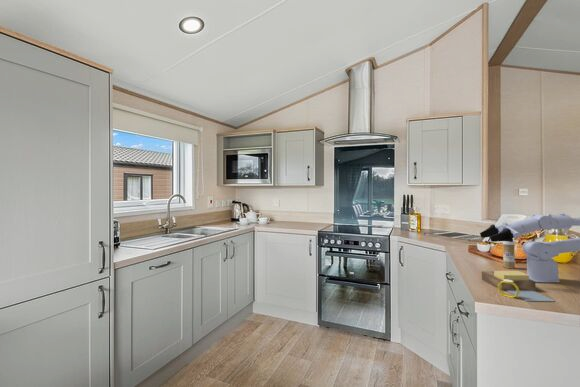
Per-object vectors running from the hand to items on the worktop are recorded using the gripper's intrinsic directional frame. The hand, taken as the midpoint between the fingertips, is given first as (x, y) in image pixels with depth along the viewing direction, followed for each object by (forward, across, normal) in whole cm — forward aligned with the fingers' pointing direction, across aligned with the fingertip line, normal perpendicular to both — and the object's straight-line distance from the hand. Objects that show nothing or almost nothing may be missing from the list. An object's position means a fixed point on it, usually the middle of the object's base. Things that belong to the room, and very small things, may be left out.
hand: (485, 237), depth 120 cm
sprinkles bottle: (-13, -17, +24) cm, 32 cm away
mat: (+1, +20, +18) cm, 27 cm away
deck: (+1, +8, +18) cm, 20 cm away
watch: (+8, +21, +16) cm, 27 cm away
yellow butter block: (0, +10, +15) cm, 18 cm away
